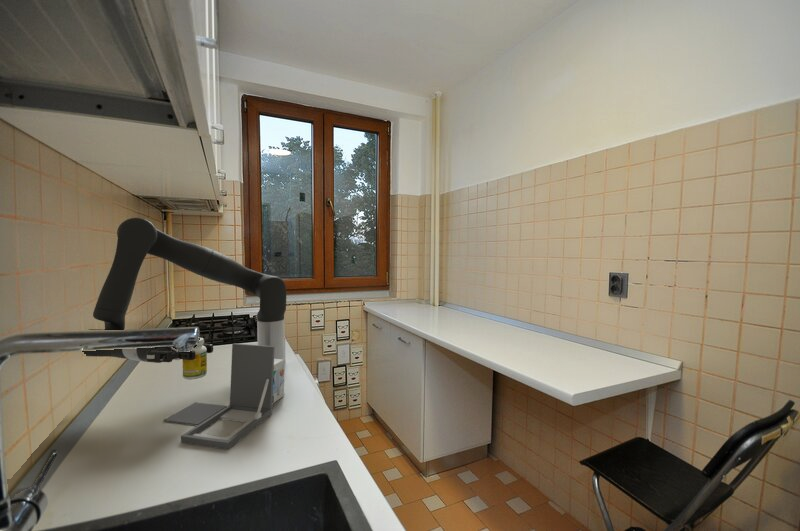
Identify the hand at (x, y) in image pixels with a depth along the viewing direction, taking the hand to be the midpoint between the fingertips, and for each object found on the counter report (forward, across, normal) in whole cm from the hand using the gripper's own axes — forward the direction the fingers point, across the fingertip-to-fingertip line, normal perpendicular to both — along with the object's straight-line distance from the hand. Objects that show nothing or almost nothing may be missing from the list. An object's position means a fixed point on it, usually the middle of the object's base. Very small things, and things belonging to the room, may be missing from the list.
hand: (203, 352), depth 87 cm
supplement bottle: (-3, 0, +7) cm, 7 cm away
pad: (-2, 0, +16) cm, 17 cm away
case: (+11, -4, +16) cm, 20 cm away
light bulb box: (+11, +10, +16) cm, 22 cm away
